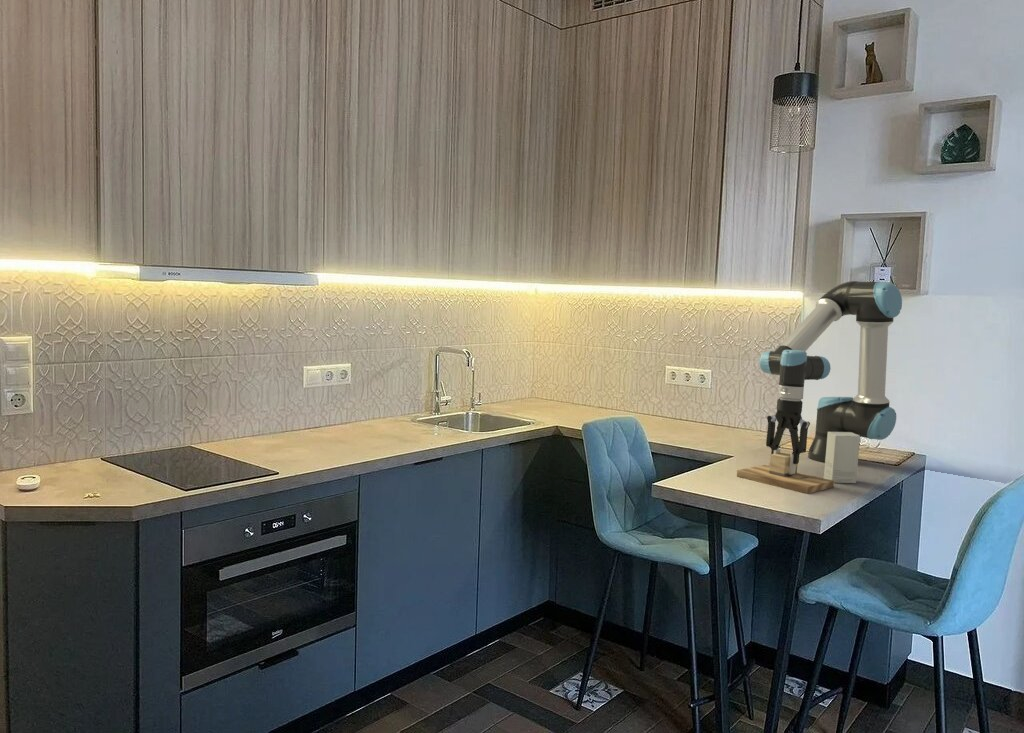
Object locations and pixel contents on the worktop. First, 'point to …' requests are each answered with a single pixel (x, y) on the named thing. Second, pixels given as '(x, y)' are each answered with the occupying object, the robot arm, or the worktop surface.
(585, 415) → the worktop surface
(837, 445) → the skincare box
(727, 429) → the worktop surface
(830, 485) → the board
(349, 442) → the worktop surface
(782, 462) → the block
